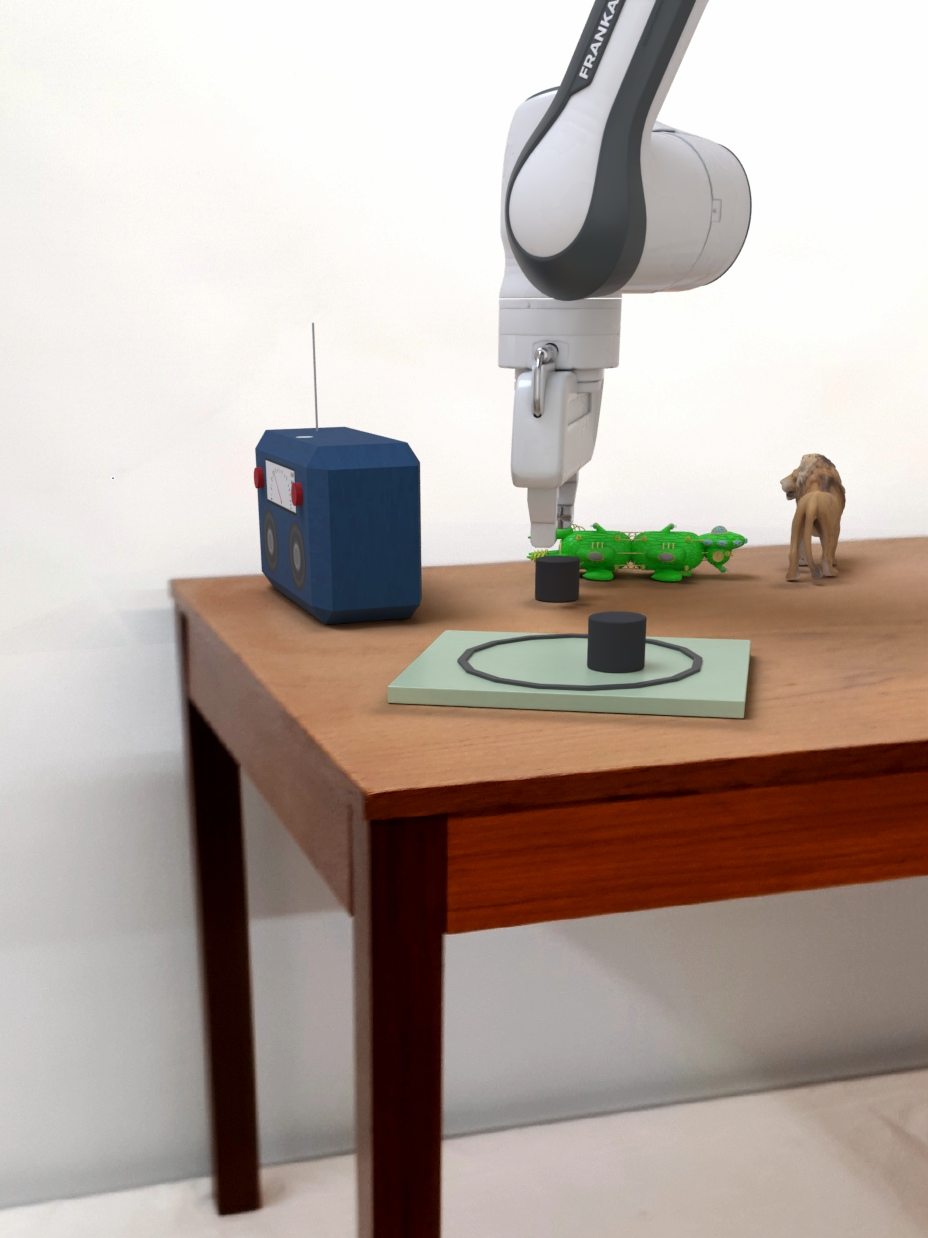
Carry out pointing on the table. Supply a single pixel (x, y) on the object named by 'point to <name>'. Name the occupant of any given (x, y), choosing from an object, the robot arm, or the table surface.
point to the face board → (576, 675)
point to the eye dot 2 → (616, 642)
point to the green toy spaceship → (644, 550)
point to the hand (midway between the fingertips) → (552, 537)
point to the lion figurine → (814, 513)
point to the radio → (340, 521)
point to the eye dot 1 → (557, 578)
